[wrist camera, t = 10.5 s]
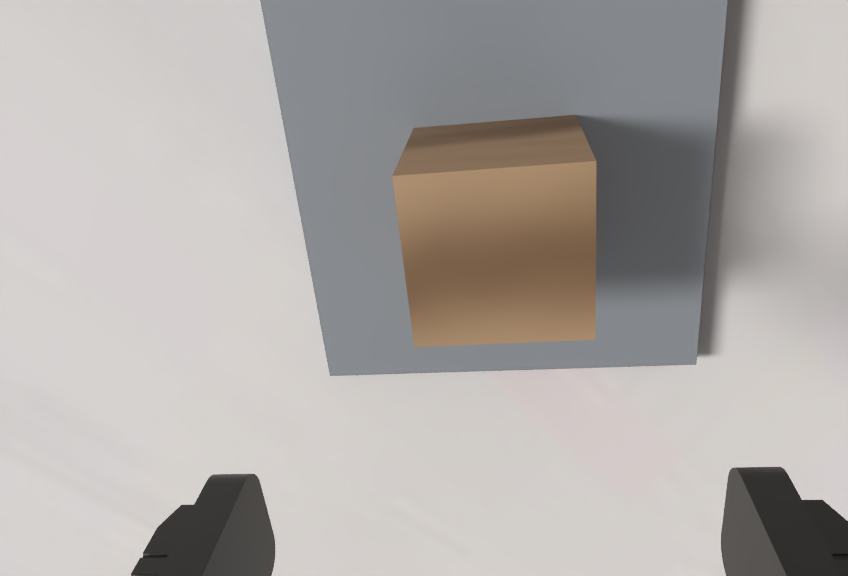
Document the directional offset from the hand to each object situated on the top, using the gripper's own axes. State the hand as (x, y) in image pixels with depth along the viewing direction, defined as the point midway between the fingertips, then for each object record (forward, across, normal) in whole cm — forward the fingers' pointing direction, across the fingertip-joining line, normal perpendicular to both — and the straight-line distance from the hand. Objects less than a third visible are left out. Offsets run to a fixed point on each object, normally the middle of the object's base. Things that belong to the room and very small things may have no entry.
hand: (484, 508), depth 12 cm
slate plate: (+18, 0, 0) cm, 18 cm away
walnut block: (+17, 0, 0) cm, 17 cm away
